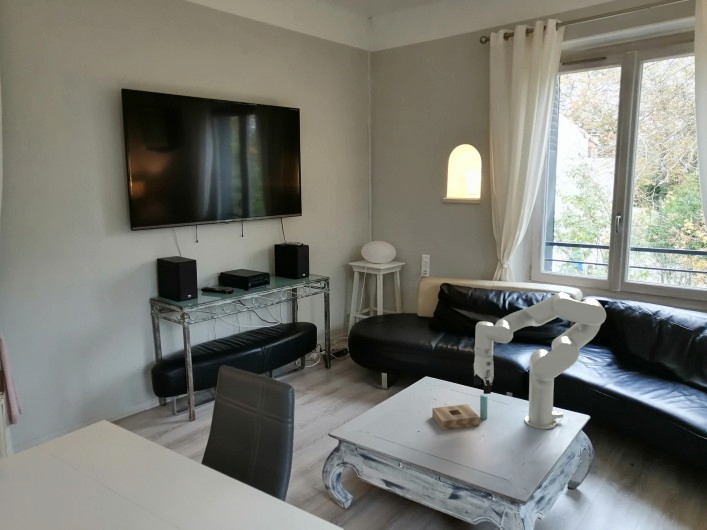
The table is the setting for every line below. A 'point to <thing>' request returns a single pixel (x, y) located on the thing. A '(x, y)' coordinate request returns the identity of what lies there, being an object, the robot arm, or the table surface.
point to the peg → (483, 406)
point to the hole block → (455, 417)
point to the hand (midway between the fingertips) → (482, 389)
